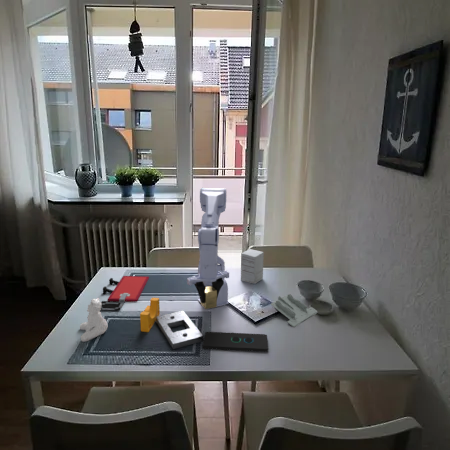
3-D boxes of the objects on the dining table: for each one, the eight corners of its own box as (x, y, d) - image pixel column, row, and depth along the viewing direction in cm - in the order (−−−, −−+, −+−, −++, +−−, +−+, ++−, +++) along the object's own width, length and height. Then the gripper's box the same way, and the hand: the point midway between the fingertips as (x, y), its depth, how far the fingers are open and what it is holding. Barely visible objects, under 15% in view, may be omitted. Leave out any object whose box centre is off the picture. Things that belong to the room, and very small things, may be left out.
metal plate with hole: (183, 315, 133) (183, 309, 132) (203, 340, 118) (203, 335, 117) (155, 321, 129) (155, 316, 128) (173, 349, 113) (173, 343, 113)
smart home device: (268, 348, 112) (202, 345, 113) (268, 353, 112) (202, 350, 113) (267, 333, 120) (205, 330, 121) (266, 338, 120) (205, 335, 121)
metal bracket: (266, 300, 133) (291, 287, 143) (262, 312, 135) (286, 299, 146) (298, 325, 125) (321, 310, 135) (293, 338, 127) (316, 322, 137)
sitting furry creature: (79, 327, 124) (76, 295, 121) (106, 322, 127) (104, 290, 124) (81, 343, 116) (77, 308, 113) (110, 337, 119) (107, 303, 116)
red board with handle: (91, 311, 135) (132, 312, 135) (90, 304, 134) (132, 305, 134) (115, 278, 164) (149, 279, 164) (114, 272, 163) (148, 273, 163)
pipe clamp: (148, 313, 134) (147, 297, 132) (159, 314, 134) (159, 298, 132) (135, 331, 123) (134, 313, 121) (148, 332, 122) (147, 314, 120)
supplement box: (249, 274, 168) (249, 248, 165) (263, 278, 164) (264, 251, 161) (240, 280, 163) (240, 253, 159) (254, 284, 158) (255, 256, 155)
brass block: (211, 301, 128) (211, 285, 127) (216, 306, 125) (216, 290, 123) (200, 304, 127) (200, 288, 125) (205, 309, 123) (205, 292, 122)
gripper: (192, 270, 115) (193, 310, 119) (233, 263, 122) (233, 301, 125) (184, 263, 121) (185, 301, 125) (224, 256, 128) (223, 292, 131)
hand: (208, 300), depth 125 cm, fingers closed on brass block, 4 cm apart
